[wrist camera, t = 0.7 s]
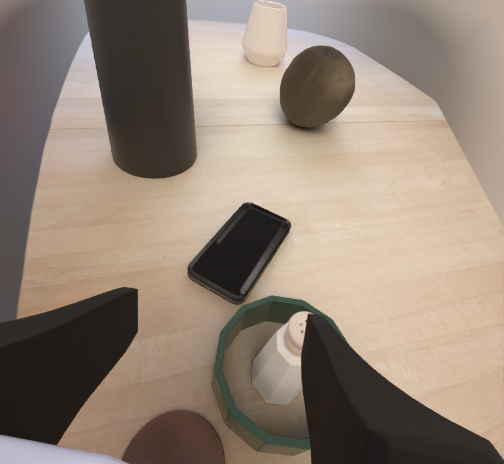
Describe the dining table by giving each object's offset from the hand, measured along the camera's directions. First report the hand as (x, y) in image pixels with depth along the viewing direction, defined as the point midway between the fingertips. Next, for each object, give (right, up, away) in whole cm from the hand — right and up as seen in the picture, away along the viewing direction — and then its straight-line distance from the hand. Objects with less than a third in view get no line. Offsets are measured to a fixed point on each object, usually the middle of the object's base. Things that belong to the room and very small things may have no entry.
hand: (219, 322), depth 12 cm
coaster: (-5, -15, +11) cm, 19 cm away
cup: (+4, +56, +77) cm, 95 cm away
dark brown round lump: (+13, +28, +53) cm, 61 cm away
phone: (0, +1, +26) cm, 26 cm away
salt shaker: (+4, -10, +17) cm, 20 cm away
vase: (-15, +17, +38) cm, 44 cm away
